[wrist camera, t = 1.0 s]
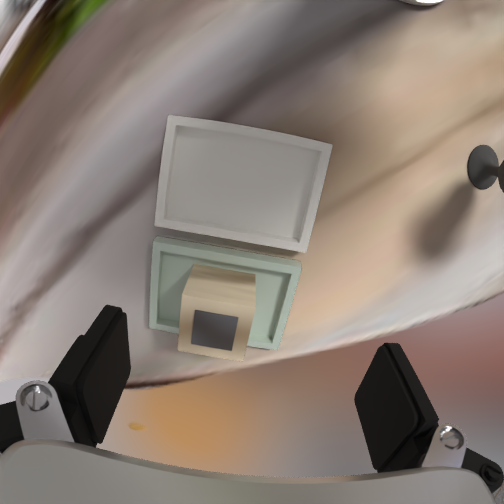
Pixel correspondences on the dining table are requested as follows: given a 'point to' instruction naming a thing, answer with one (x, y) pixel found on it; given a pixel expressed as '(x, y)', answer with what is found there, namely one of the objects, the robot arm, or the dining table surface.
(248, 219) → the tray white
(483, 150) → the sundae
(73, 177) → the dining table surface
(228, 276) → the light wooden cube
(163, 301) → the tray sage
